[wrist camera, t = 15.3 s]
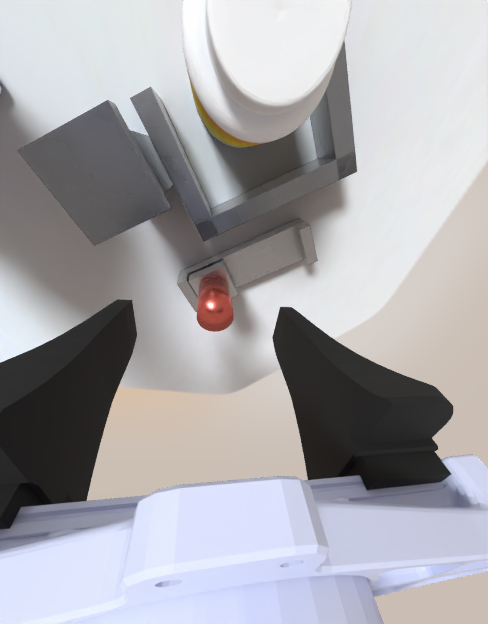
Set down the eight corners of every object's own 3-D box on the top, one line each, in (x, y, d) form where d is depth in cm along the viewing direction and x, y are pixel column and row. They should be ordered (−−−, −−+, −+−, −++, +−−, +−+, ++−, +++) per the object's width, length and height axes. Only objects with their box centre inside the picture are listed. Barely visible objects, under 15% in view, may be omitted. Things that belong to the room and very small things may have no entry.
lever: (205, 301, 21) (204, 339, 17) (189, 275, 19) (184, 309, 15) (236, 288, 20) (244, 323, 16) (222, 260, 19) (227, 291, 15)
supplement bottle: (265, 159, 17) (325, 164, 8) (186, 131, 15) (161, 104, 7) (295, 51, 14) (431, -107, 6) (202, 4, 13) (191, -303, 4)
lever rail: (196, 298, 22) (195, 312, 20) (180, 271, 21) (177, 283, 19) (307, 250, 21) (317, 260, 19) (299, 218, 19) (309, 225, 17)
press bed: (160, 250, 19) (136, 298, 13) (88, 137, 15) (-3, 125, 8) (336, 169, 18) (409, 178, 11) (314, 15, 13) (415, -116, 7)
